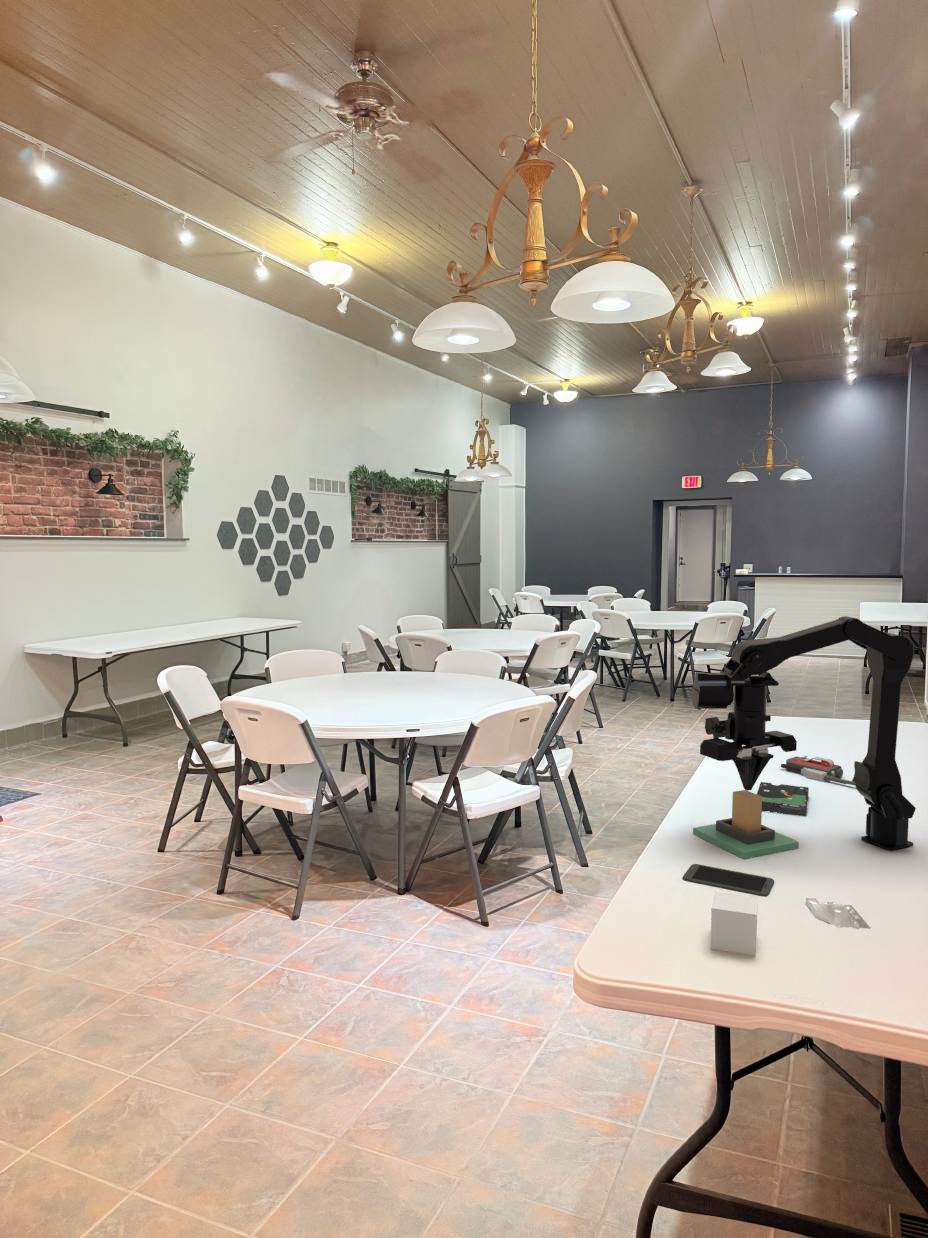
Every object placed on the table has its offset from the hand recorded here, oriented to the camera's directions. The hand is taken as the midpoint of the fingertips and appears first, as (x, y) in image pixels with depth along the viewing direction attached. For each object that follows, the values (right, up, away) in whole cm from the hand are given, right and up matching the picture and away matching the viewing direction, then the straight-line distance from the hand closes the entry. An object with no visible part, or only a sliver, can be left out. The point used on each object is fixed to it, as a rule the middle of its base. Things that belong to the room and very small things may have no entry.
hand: (747, 790), depth 154 cm
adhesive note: (-15, -14, -38) cm, 43 cm away
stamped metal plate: (+3, -14, -30) cm, 33 cm away
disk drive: (+16, -9, +24) cm, 30 cm away
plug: (0, -9, +1) cm, 9 cm away
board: (0, -10, +1) cm, 10 cm away
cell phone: (-9, -12, -17) cm, 23 cm away
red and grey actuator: (+33, -7, +43) cm, 55 cm away
